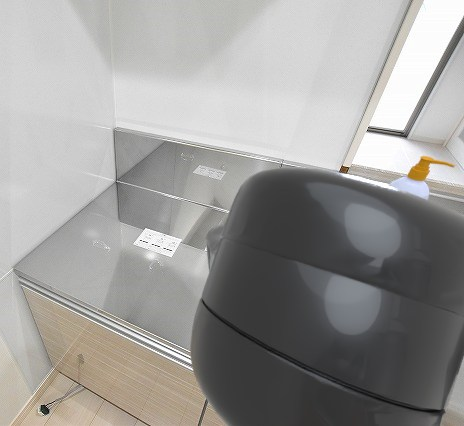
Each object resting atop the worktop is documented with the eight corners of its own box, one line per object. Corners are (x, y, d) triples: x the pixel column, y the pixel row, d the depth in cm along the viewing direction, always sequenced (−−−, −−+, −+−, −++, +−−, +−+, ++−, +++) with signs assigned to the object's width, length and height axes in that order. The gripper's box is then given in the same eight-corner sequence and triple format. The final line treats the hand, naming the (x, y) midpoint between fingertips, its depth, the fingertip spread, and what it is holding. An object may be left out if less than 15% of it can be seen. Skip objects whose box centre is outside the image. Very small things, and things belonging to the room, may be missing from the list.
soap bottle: (398, 251, 78) (451, 170, 64) (359, 234, 84) (399, 157, 70) (408, 237, 82) (459, 159, 68) (370, 222, 88) (410, 147, 74)
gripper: (381, 264, 37) (495, 252, 38) (315, 203, 49) (404, 195, 50) (357, 302, 41) (460, 290, 43) (302, 237, 53) (384, 229, 54)
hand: (430, 239), depth 46 cm, fingers open, 8 cm apart
